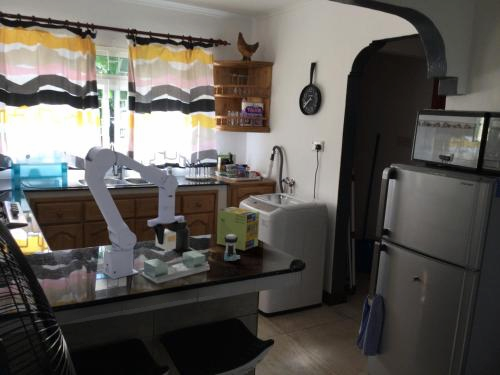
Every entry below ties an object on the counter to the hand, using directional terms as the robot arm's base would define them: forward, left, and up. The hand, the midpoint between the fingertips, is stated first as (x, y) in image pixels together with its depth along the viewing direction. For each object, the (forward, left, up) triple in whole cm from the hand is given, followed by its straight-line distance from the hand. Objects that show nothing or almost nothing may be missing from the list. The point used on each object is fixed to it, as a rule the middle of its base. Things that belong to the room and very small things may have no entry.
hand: (165, 242), depth 153 cm
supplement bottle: (+16, +13, -9) cm, 22 cm away
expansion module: (0, 0, -2) cm, 2 cm away
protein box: (+40, +4, -9) cm, 41 cm away
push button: (+24, -10, -9) cm, 27 cm away
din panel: (-1, -8, -8) cm, 12 cm away
